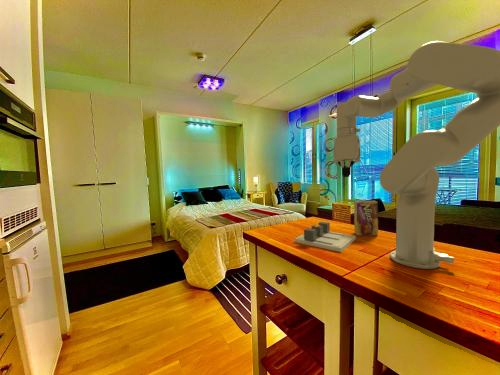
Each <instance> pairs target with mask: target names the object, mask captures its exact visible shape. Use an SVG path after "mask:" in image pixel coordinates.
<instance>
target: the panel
mask: <svg viewBox="0 0 500 375" xmlns="http://www.w3.org/2000/svg"><path fill="white" fill-rule="evenodd" d="M316 237H317V239H316V240H315V241H310V240H305V239H304V233H303V234H301V235H299V236H297V237H296V238H294V243H299V244H302V245H306V246H311V247H316V248H321V249H324V250H330V251H333V252H339V253H342V252H343V251H344V250H346V249H347V248H348V247H349V246H350V245H351V244H352V243H354V242H355V241H356V239H357V236H356V235H354V234H353V235H352V234H345V233H340V232H333V231H329V232H328V233H325V232H323V236H321V237H319V236H316Z"/></svg>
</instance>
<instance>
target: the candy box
mask: <svg viewBox="0 0 500 375" xmlns="http://www.w3.org/2000/svg"><path fill="white" fill-rule="evenodd" d="M378 203H379V202H378V201H376V200H354V201H353V211H354V212H353V215H354V220H353V222H354V225H353V226H354V234H355V236H356V235H357V236H379V206H378V205H379V204H378Z"/></svg>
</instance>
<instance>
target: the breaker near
mask: <svg viewBox="0 0 500 375" xmlns="http://www.w3.org/2000/svg"><path fill="white" fill-rule="evenodd" d="M303 234H304V239H305V240H310V241H315V240H316V239H317V237H316V230H315V229H312V228H310V227H309V228H308V227H307V228H304V229H303Z"/></svg>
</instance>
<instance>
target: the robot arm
mask: <svg viewBox="0 0 500 375" xmlns="http://www.w3.org/2000/svg"><path fill="white" fill-rule="evenodd" d="M389 82H390V83H389V88H390V90H388V91H387V92H385V93H383V94H381V95H379V96H376V97H375V96H370V95H369V96H368V95H355V96H352V97H351V98H350V99H347V101H344V102H340V103H339V104H338V105H337V106H336V137H335V138H334V143H333V150H332V157H333V162H332V163H333V164H336V165H339V166H340V167H341V170H342V171H341V176H342V177H343V178H350V175H351V174H352V173H351V168H352V166H354V164H357V163H360V162H361V143H360V142H361V141H360V137H359V134H358V133H360V132H361V129H360V128H357V118H367V119H368V118H370V119H371V118H373V119H374V118H378V117H381V116H383V115H385V114H387V113H390V112H392V111H394V110H395V109H397V108H398V107H399V106H400V105H402V103H404V101H405V100H407V99H409V98H411V97H413V96H416V95H418V94H419V93H422V92H424V91H426V90H429V89H431V88H433V87H435V86H437V85H440V86H444V87H447V88H450V89H455V90H458V91H462V92H464V91H465V92H468V93H471V94H476V97H475V98H474V99H473V100H472V101H470V102H469V103H468V104H467V105H465V106H464V107H463V108H461V109H459V111H458V112H457V113H456V114H455V115H454V116H453V117H452V118H451V119H450V120H449V121H448V122H447V123H446V124H445V125H444V126H442V128H440V129H430V130H424V131H421V132H418V133H417V134H414V135H413V136H411V137H410V138H408V140H407V141H406V142H405V143H404V144H403V145H402V147H400V149H399V150H398V151H396V153H395V154H394V155H393V157H391V159H389V161H388V162H387V163H386V165H384V167H383V168H382V170H381V171H380V174H379V184H380V186H381V188H382V189H383V190H384V191H385V192H387V193H390V194H393V195H398V198H397V202H396V213H395V214H396V215H395V216H396V218H395V220H396V223H395V225H396V227H395V228H396V229H395V250H393V251H391V252H390V255H389V256H390V257H389V258H391V259H392V261H394V262H395V263H398V264H400V265H403V266H406V267H409V268H410V267H411V268H415V269H423V270H432V269H433V270H434V269H437V268H439V267H440V265H441V263H440V262H442V263H448V264H451V265H453V264H454V262H455V260H454V259H455V257H454V256H449V255H448V254H447V253H440V252H438V251H435V250H436V248H435V247H434V242H435V241H434V238H435V213H436V198H437V192H438V188H439V184H440V174H439V171H438V170H437V168H436V167H445V166H446V167H447V166H451V165H454V164H456V163H458V162H460V161H461V160H462V159H463V158H464V157H466V156H467V154H469V153H470V152H472V150H473V149H474V148H475V147H478V145H480V143H482V141H484V140H485V139H486V138H488V137H489V136H490V134H491V133H492V132H494V131H495V130H496V129H498V127H500V50H499V49H497V48H493V47H488V46H482V45H473V44H464V43H454V42H447V41H439V40H434V41H429V42H427V43H425V44H423V45H421V46H419V47H417V49H416V50H414V52H412V54H411V55H410V57H409V58H408V61H407V63H406V68H405V69H403V70H401V71H400V72H398V73H396V74H394V75H393V76H392V77H391V79H390V81H389ZM357 134H358V135H357ZM346 161H347V162H346ZM346 163H347V164H346Z"/></svg>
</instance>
